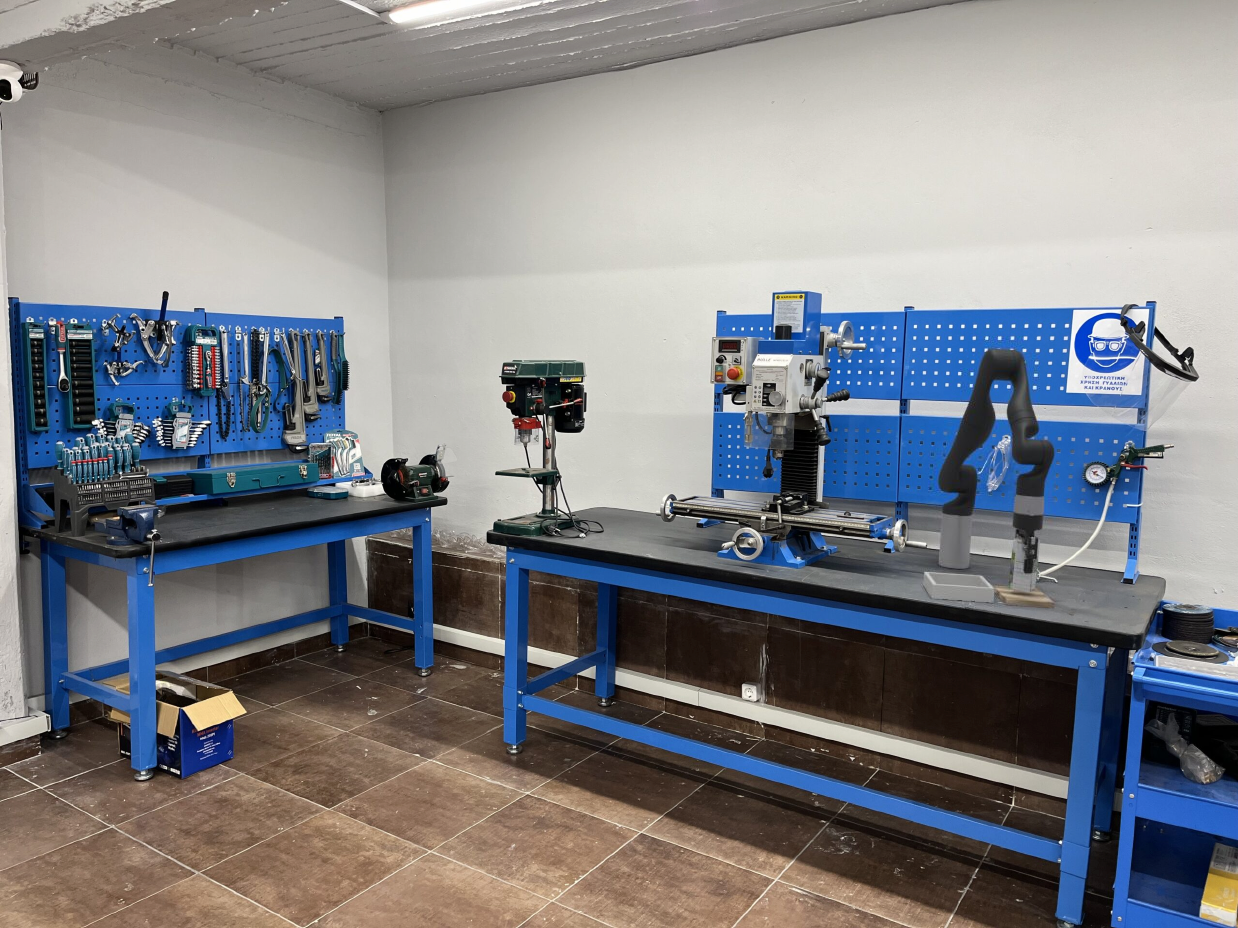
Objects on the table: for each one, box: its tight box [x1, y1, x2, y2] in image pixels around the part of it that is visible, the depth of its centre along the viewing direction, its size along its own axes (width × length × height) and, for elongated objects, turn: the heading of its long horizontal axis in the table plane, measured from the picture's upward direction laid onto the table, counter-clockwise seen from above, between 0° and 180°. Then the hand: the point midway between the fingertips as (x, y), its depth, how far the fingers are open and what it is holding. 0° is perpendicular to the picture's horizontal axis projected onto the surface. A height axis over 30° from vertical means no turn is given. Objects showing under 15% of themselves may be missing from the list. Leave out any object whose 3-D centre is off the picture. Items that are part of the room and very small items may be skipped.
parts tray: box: [922, 571, 995, 604], centre depth 247 cm, size 16×16×4 cm
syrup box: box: [1008, 537, 1041, 592], centre depth 243 cm, size 6×6×14 cm
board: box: [992, 585, 1055, 609], centre depth 243 cm, size 16×12×2 cm
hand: (1023, 569), depth 243 cm, fingers closed on syrup box, 7 cm apart
